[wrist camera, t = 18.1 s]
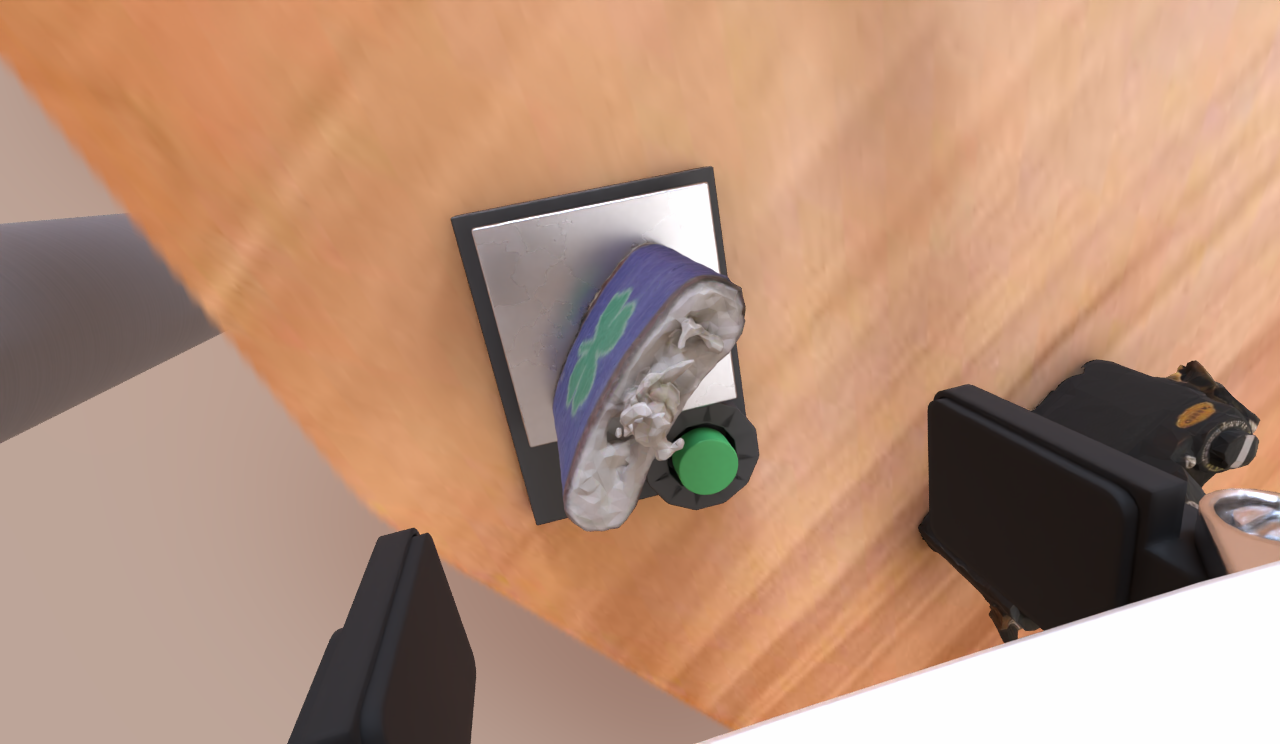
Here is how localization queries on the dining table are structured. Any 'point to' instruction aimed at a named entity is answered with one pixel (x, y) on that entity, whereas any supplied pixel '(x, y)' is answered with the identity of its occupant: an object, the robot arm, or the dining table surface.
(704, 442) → the tare button
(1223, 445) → the film camera
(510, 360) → the pan
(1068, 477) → the robot arm
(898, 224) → the dining table surface
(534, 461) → the scale
